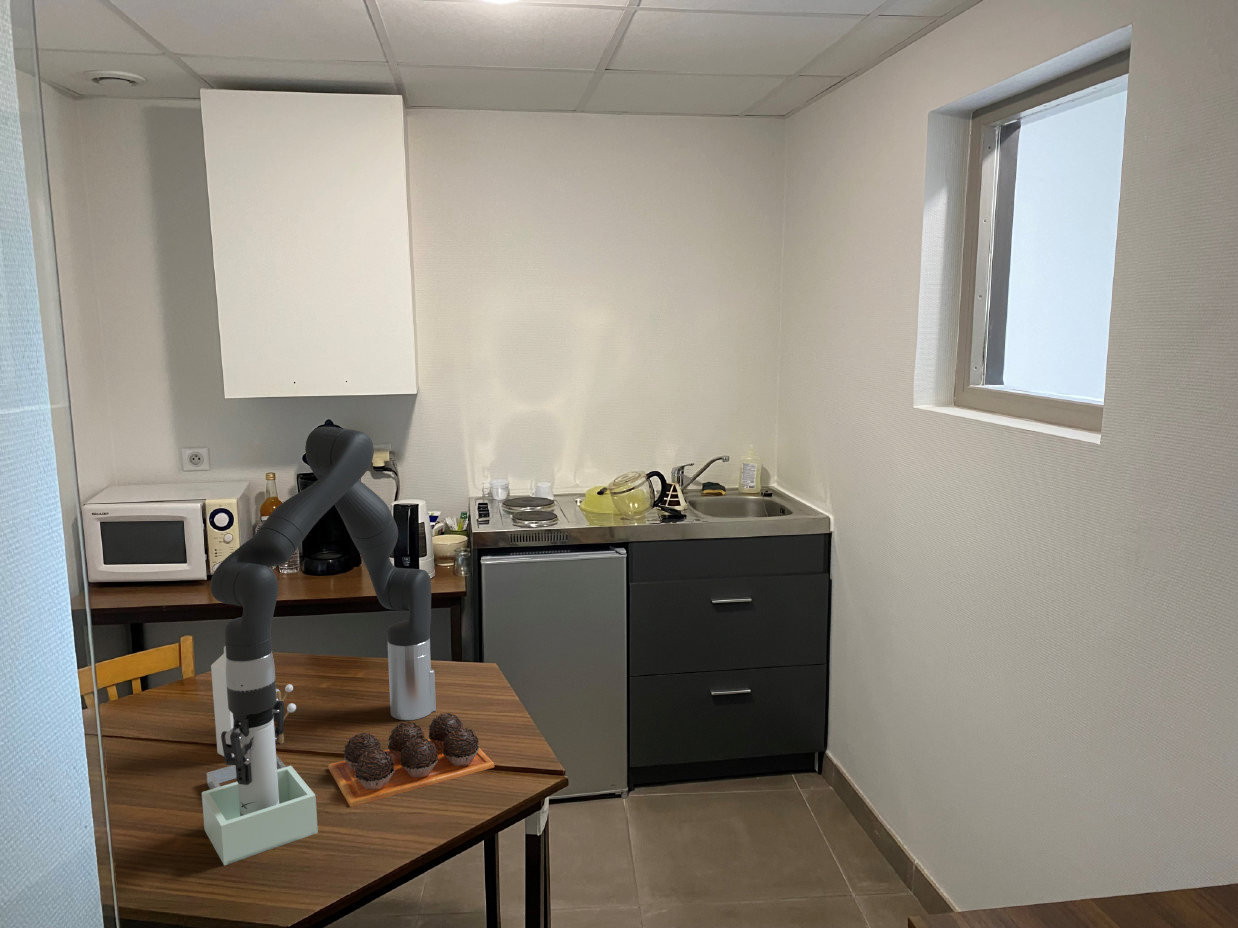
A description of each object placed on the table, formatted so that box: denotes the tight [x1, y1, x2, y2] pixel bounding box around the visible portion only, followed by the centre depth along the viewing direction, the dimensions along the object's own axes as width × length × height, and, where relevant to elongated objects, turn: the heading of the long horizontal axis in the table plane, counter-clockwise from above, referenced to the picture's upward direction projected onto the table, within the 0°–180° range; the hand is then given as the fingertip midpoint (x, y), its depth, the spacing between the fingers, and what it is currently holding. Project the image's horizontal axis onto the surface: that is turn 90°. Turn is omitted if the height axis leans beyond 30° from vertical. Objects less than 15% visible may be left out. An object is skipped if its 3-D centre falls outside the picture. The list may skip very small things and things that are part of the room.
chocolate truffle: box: [327, 712, 495, 808], centre depth 170 cm, size 28×17×8 cm, turn 121°
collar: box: [206, 754, 287, 790], centre depth 164 cm, size 13×12×2 cm
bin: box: [201, 765, 319, 866], centre depth 148 cm, size 15×13×7 cm
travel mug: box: [233, 708, 279, 816], centre depth 147 cm, size 6×7×20 cm
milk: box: [210, 646, 234, 757], centre depth 176 cm, size 6×6×22 cm
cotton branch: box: [276, 683, 297, 744], centre depth 181 cm, size 7×6×12 cm
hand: (257, 772), depth 147 cm, fingers closed on travel mug, 6 cm apart
